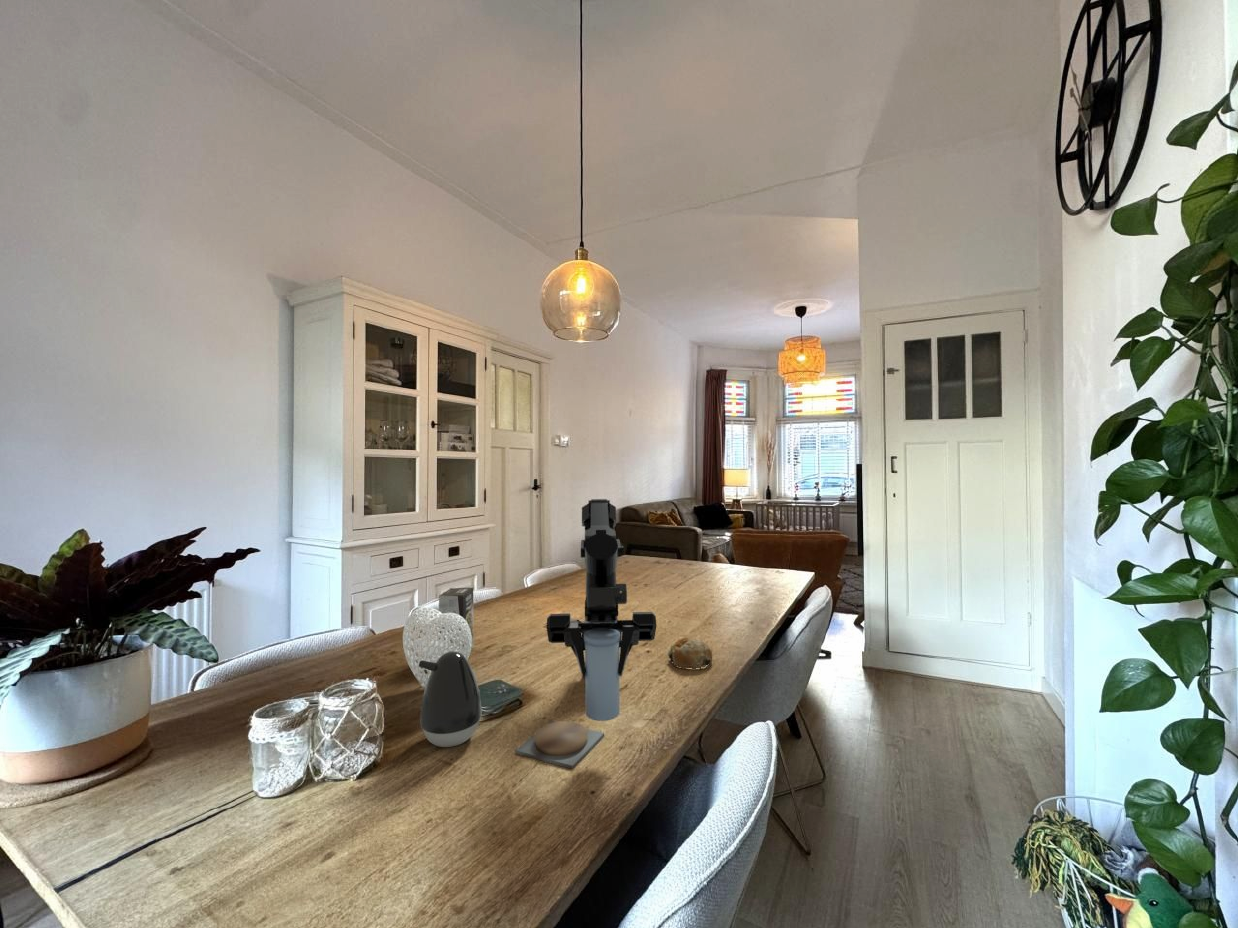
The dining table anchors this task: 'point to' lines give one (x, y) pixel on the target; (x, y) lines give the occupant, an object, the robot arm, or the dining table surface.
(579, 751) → the grey brown domed tile
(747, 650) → the dining table surface
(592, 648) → the canister
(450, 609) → the coffee box
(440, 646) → the decorative heart
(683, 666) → the brown domed lump
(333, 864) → the dining table surface
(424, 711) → the pump dispenser
